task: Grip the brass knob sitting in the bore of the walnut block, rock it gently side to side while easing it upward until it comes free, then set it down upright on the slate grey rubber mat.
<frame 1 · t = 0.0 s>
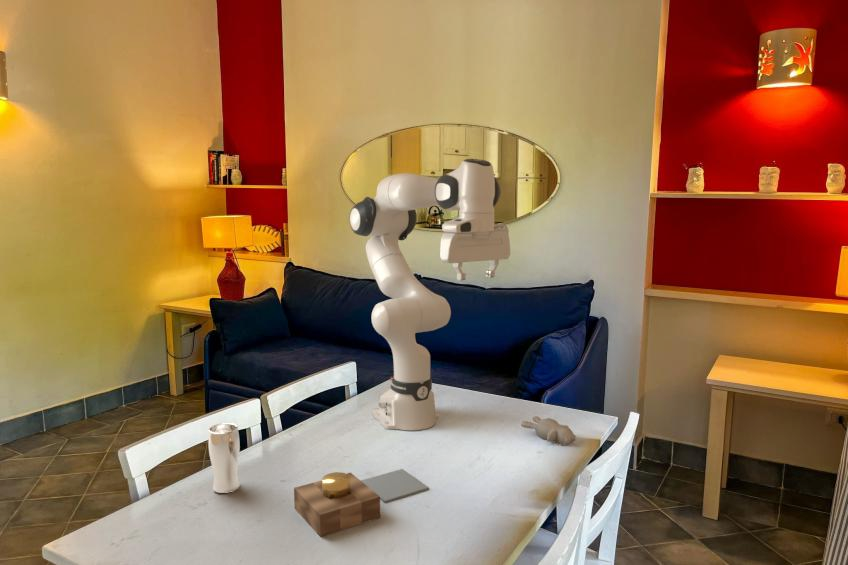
hand: (476, 278, 159), 48 cm above the table, tool pointing down, fingers open, 8 cm apart
beer glass: (226, 489, 149), on the table
brass knob: (336, 495, 137), in the walnut block
rubber mat: (394, 485, 150), on the table
walnut block: (336, 512, 137), on the table
bunny figurine: (549, 438, 179), on the table
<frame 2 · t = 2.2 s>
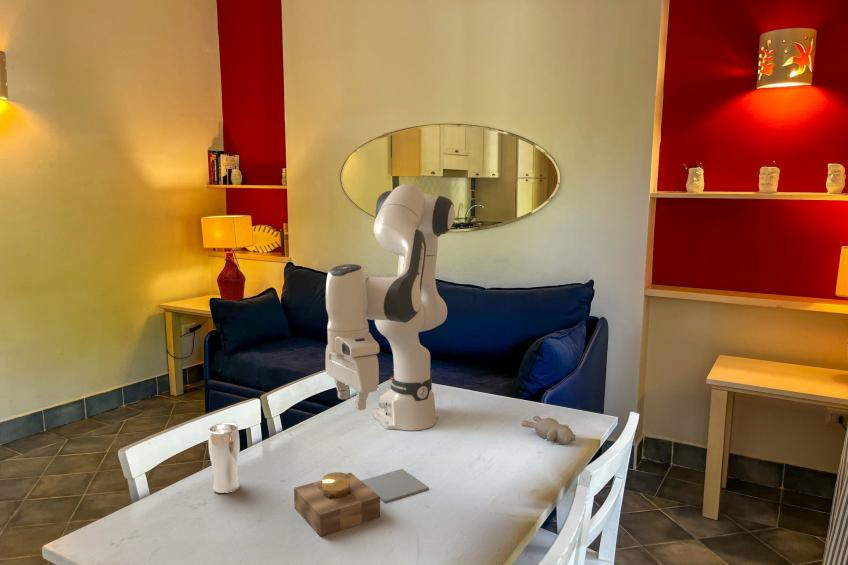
hand: (351, 403, 135), 24 cm above the table, tool pointing down, fingers open, 8 cm apart
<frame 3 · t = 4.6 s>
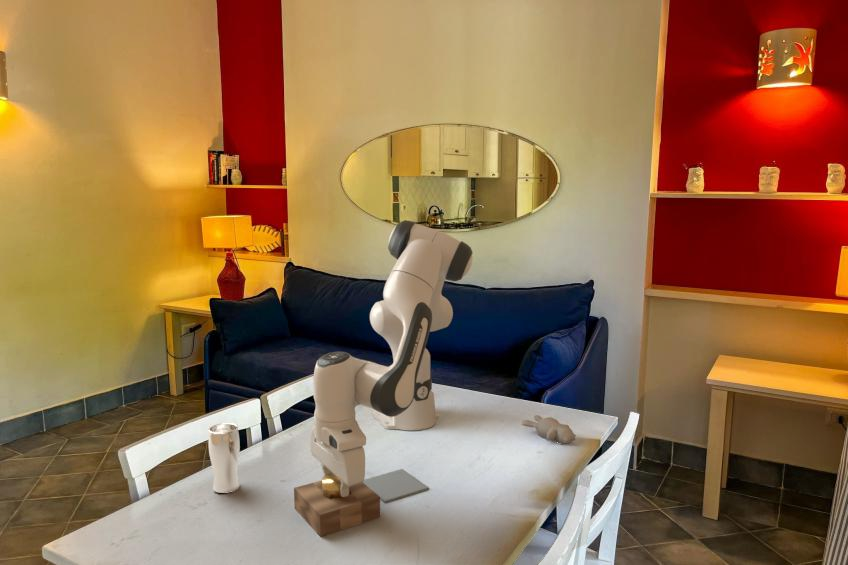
hand: (336, 488, 136), 6 cm above the table, tool pointing down, fingers closed on brass knob, 6 cm apart
brass knob: (336, 495, 137), in the walnut block, touching gripper
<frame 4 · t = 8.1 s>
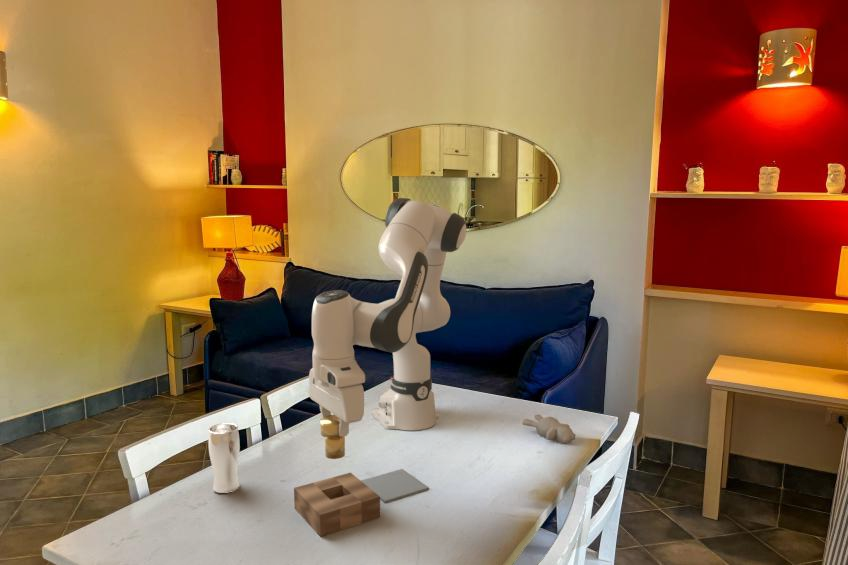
hand: (334, 429, 134), 19 cm above the table, tool pointing down, fingers closed on brass knob, 6 cm apart
brass knob: (334, 437, 135), point 17 cm above the table, touching gripper
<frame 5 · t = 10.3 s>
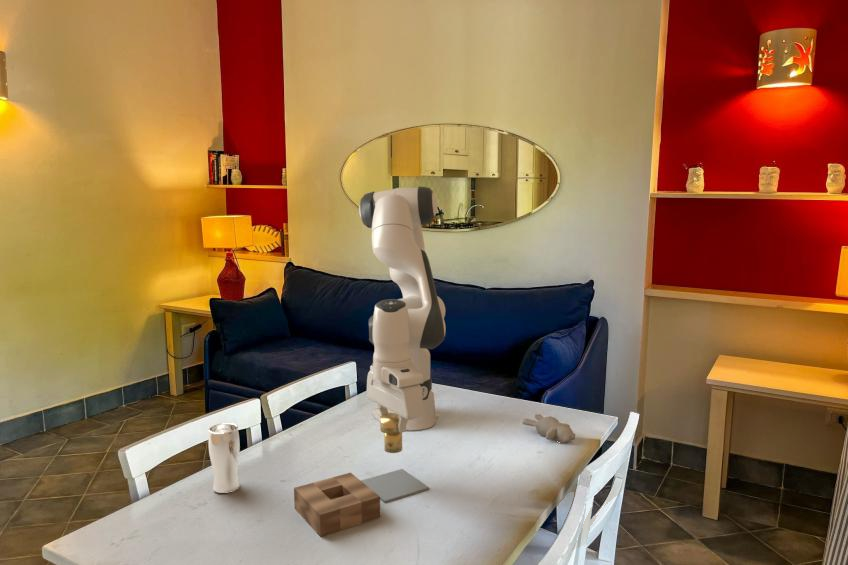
hand: (393, 426, 147), 15 cm above the table, tool pointing down, fingers closed on brass knob, 6 cm apart
brass knob: (393, 433, 148), point 13 cm above the table, touching gripper
when the fingers open (8 cm above the table, at t = 12.0 s): brass knob drops 1 cm, resting on rubber mat.
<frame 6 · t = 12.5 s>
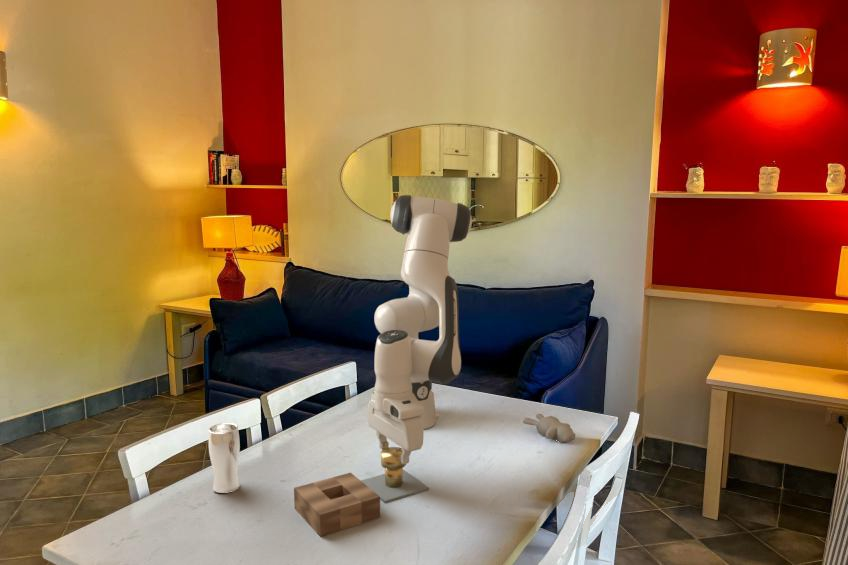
hand: (393, 455, 149), 8 cm above the table, tool pointing down, fingers open, 8 cm apart
brass knob: (393, 468, 149), on the rubber mat
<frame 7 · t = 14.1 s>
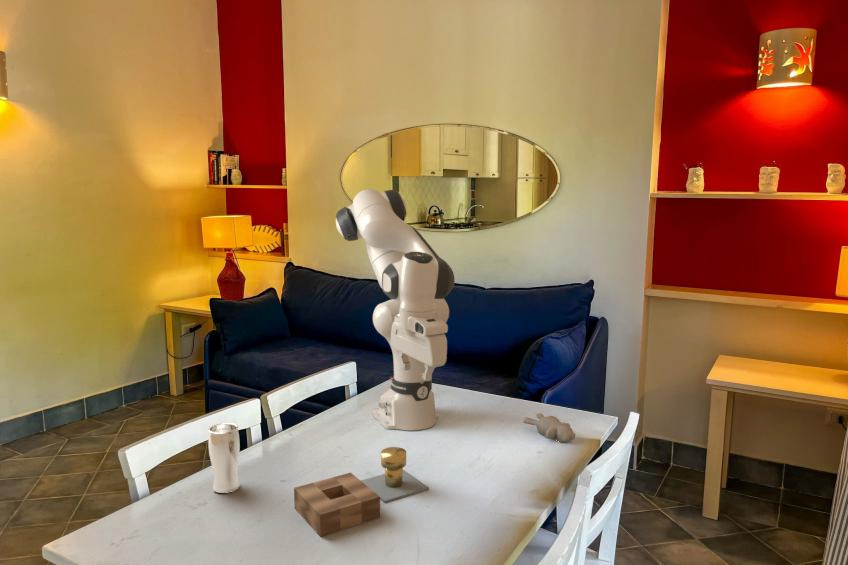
hand: (416, 374, 153), 25 cm above the table, tool pointing down, fingers open, 8 cm apart
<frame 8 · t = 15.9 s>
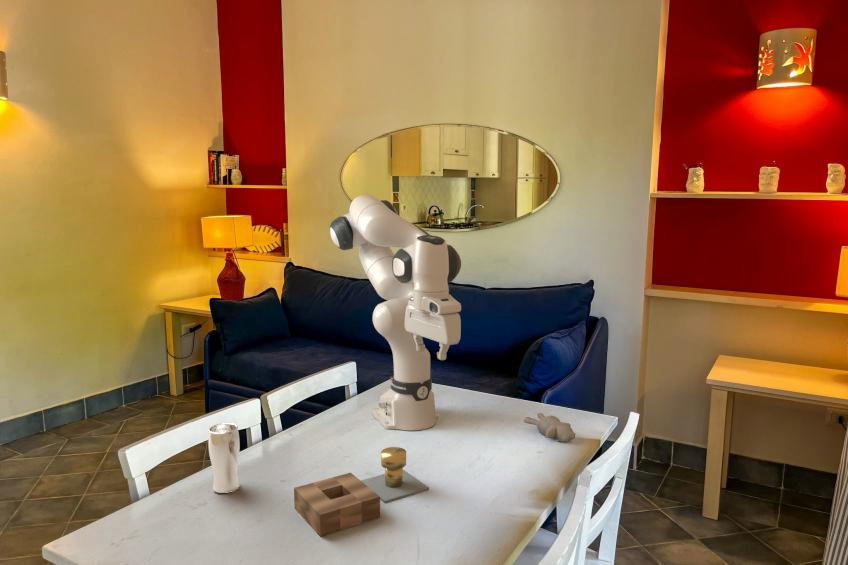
hand: (430, 355, 157), 29 cm above the table, tool pointing down, fingers open, 8 cm apart
at the end: brass knob inside the target area on the rubber mat (0.1 cm from its centre), point 4.5 cm above the rubber mat's base; brass knob tilted 0°; the gripper is holding nothing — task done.
